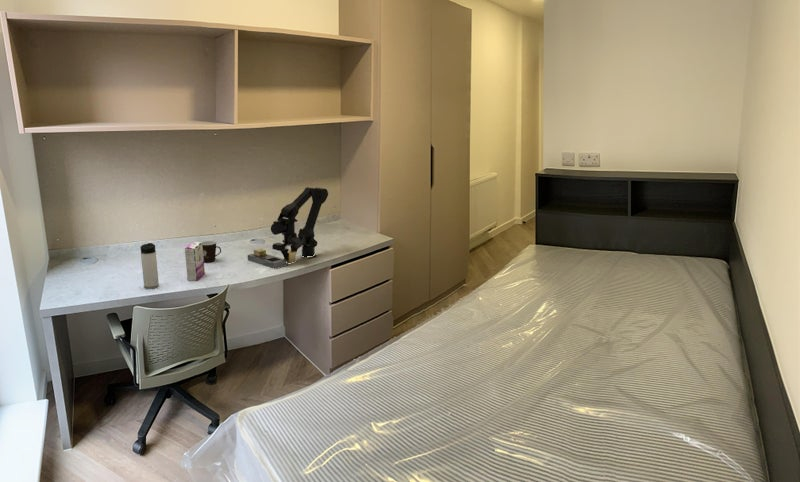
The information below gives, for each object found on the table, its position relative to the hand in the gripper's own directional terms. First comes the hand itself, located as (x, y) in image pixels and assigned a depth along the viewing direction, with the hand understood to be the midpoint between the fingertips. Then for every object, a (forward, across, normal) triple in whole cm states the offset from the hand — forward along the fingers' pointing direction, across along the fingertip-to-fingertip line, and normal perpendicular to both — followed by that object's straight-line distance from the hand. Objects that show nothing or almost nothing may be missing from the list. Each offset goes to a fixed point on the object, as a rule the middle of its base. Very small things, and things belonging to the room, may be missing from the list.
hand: (290, 259), depth 309 cm
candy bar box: (+2, -47, +14) cm, 49 cm away
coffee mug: (+2, -28, +31) cm, 42 cm away
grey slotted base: (+2, -9, +8) cm, 12 cm away
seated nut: (+2, -9, +14) cm, 16 cm away
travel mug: (+2, -68, +17) cm, 70 cm away
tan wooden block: (+2, 0, 0) cm, 2 cm away
